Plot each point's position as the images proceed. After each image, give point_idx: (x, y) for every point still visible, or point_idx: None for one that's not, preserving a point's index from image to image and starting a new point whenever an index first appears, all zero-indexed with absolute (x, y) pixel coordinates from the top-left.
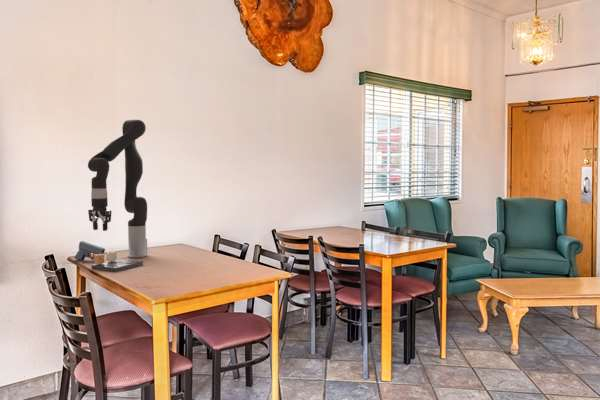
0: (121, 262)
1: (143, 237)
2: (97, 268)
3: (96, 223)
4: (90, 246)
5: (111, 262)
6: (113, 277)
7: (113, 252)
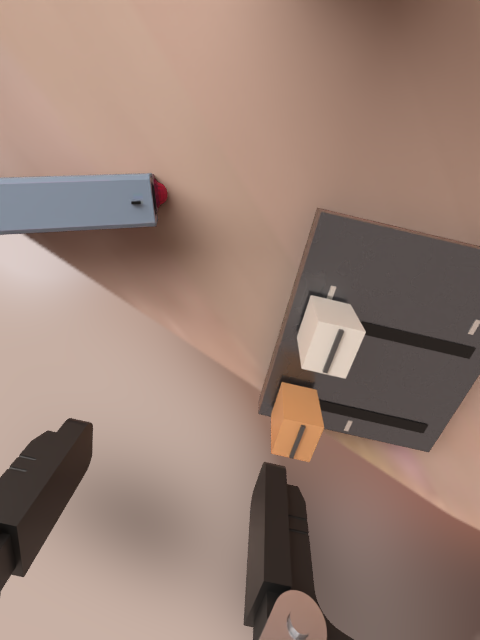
0: (404, 337)
1: None
2: None
3: (29, 527)
4: (31, 232)
5: None
6: (450, 506)
7: (353, 358)
